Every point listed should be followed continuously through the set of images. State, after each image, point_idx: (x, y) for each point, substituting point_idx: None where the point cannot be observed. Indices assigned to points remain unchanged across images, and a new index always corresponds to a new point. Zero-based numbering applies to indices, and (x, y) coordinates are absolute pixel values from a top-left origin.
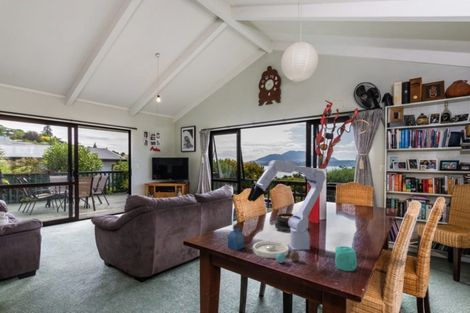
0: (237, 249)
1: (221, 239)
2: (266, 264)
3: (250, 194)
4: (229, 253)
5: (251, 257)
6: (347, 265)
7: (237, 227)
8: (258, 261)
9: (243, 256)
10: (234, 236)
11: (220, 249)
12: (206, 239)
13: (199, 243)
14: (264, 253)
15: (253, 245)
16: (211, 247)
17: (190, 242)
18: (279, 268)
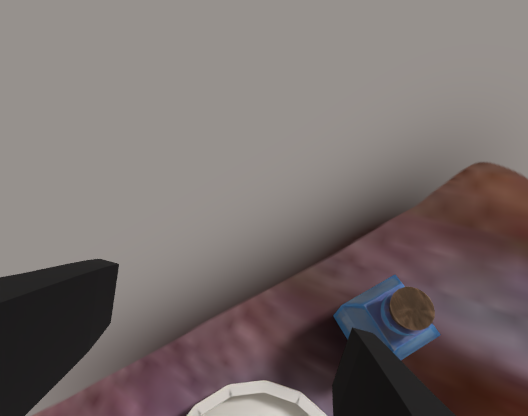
0: (335, 319)
1: (510, 300)
2: (139, 370)
3: (389, 413)
4: (306, 270)
5: (230, 343)
6: None
7: (390, 313)
8: (180, 352)
9: (254, 313)
10: (360, 296)
11: (363, 251)
12: (514, 230)
13: (457, 192)
14: (195, 405)
15: (310, 403)
16: (396, 224)
17: (475, 164)
18: (79, 404)
